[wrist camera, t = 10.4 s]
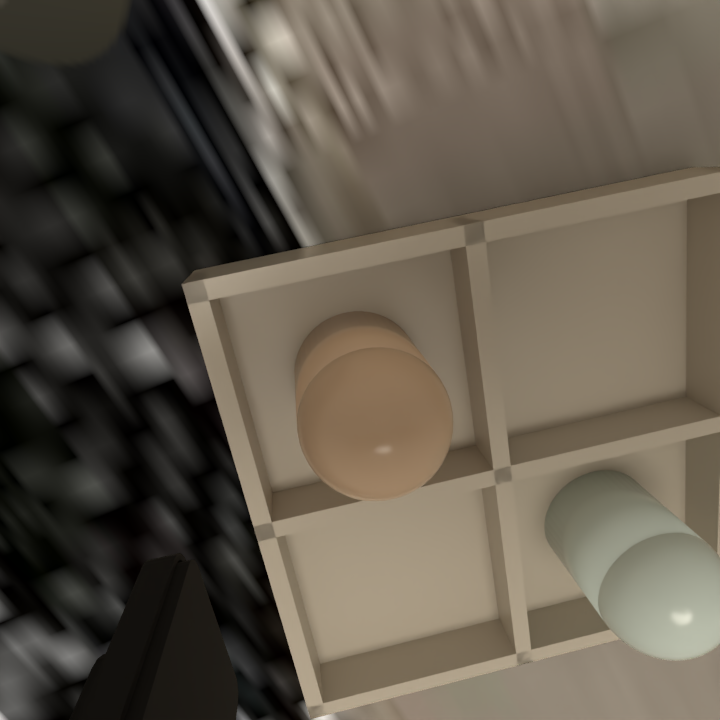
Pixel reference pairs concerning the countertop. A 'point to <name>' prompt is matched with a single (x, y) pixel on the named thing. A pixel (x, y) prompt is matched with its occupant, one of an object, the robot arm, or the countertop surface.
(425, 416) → the brown egg
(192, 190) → the countertop surface
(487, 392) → the egg tray
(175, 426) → the countertop surface
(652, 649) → the green egg
